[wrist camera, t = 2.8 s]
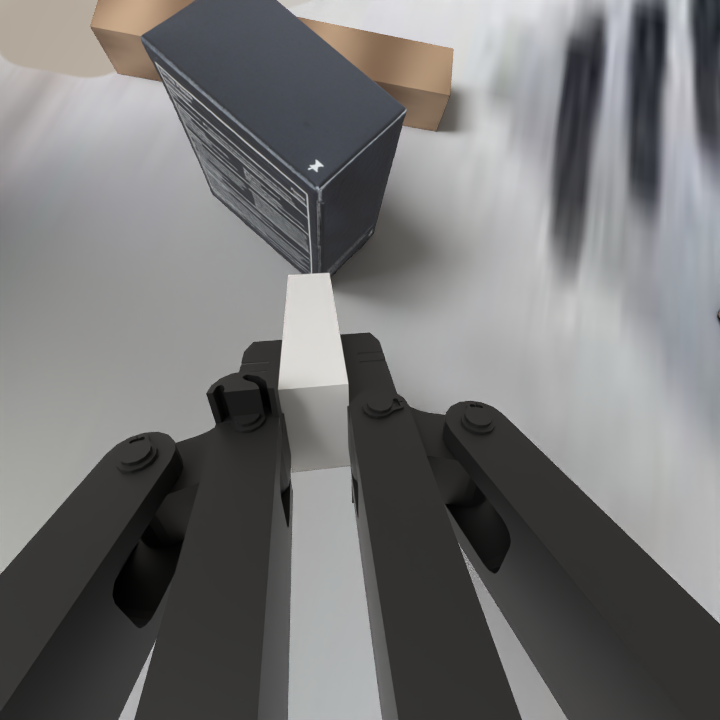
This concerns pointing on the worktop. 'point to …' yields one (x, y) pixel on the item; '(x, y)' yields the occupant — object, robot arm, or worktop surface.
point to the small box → (280, 125)
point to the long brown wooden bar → (362, 48)
